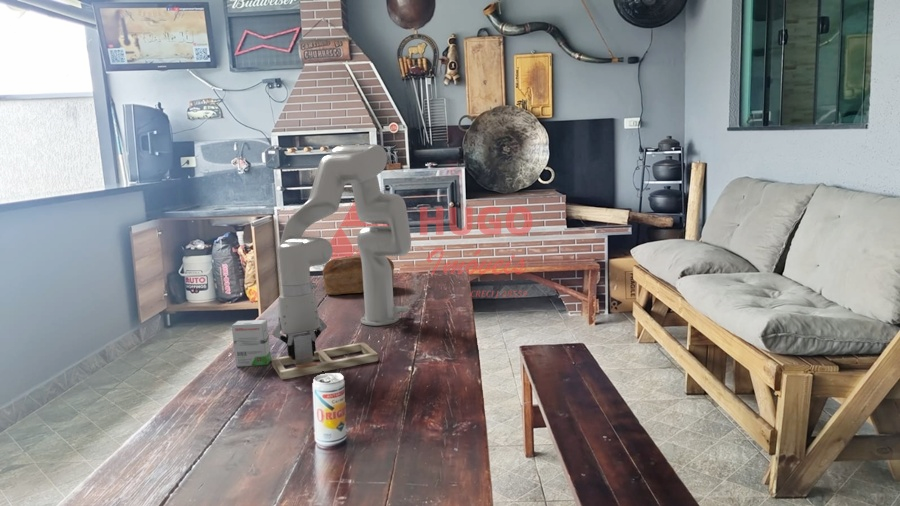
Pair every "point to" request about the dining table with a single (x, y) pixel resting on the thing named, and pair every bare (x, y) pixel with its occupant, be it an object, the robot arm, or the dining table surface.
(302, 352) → the grey rectangular block
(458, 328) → the dining table surface
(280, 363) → the wooden frame
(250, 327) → the ink box
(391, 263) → the bread
